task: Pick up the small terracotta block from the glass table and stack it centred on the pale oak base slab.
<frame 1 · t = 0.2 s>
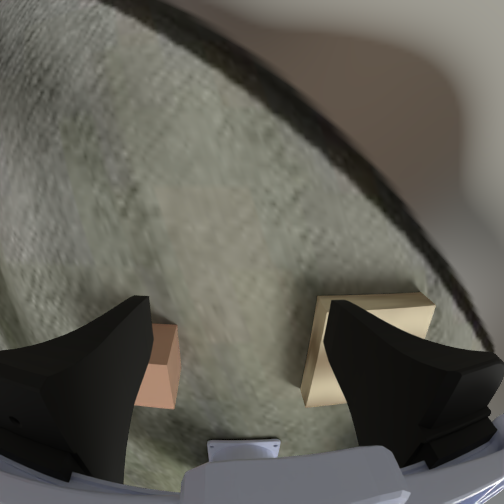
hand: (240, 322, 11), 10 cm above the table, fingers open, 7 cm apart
base: (361, 344, 25), on the table
block: (152, 345, 23), on the table
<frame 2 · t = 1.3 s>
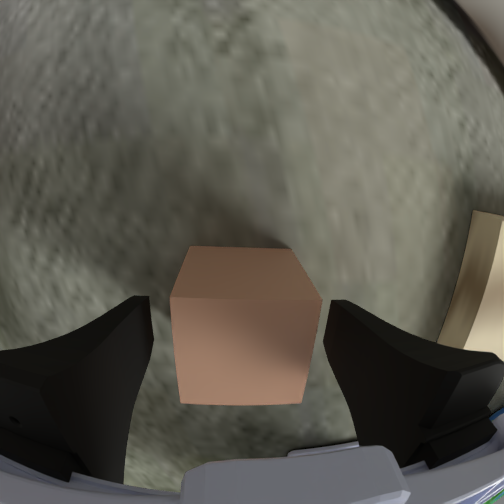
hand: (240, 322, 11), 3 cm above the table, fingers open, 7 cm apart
base: (498, 287, 15), on the table
block: (238, 292, 14), on the table
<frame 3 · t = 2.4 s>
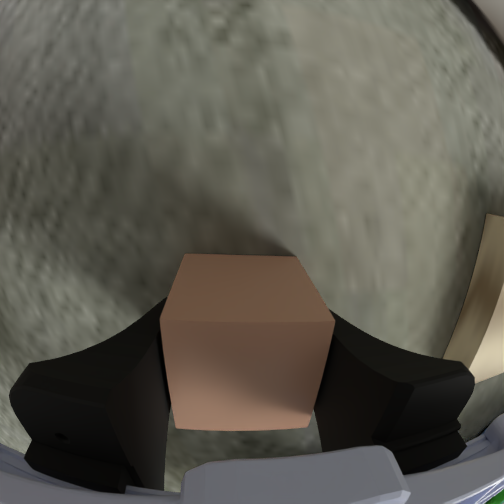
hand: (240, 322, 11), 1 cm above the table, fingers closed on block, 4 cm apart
block: (239, 304, 13), on the table, touching gripper
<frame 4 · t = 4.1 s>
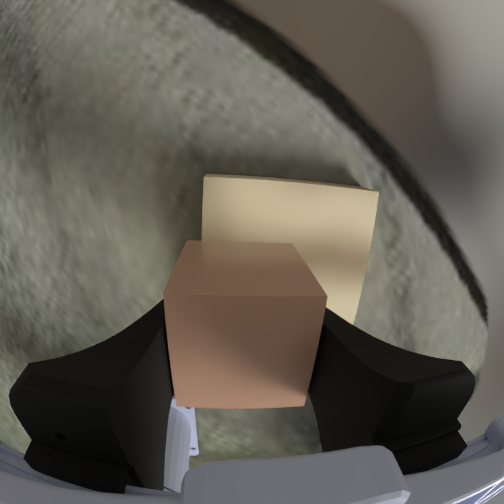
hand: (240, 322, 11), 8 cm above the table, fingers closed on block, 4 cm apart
base: (281, 255, 20), on the table
block: (237, 290, 13), point 6 cm above the table, touching gripper
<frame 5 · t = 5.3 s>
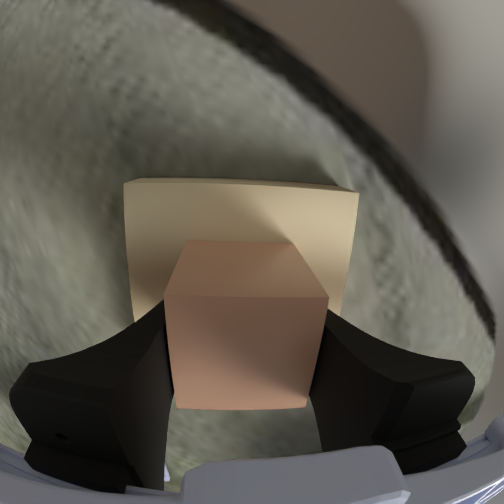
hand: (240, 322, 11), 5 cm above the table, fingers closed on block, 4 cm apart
base: (236, 275, 16), on the table
block: (238, 290, 13), point 2 cm above the table, touching base, gripper
when the fingers open (5 cm above the table, at t = 5.9 s): block stays where it is, resting on base.
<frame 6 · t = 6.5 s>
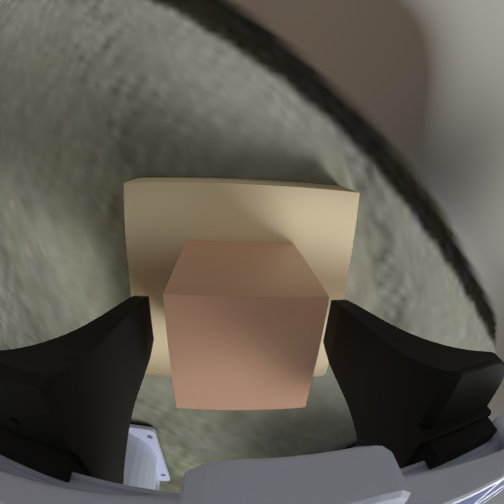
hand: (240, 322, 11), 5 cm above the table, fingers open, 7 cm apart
base: (236, 275, 16), on the table
block: (238, 290, 13), point 2 cm above the table, touching base
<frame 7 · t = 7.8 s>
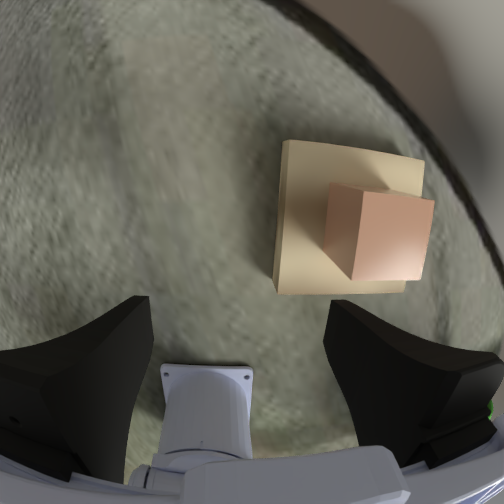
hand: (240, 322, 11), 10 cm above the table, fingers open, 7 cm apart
base: (344, 217, 21), on the table
block: (358, 219, 19), point 2 cm above the table, touching base
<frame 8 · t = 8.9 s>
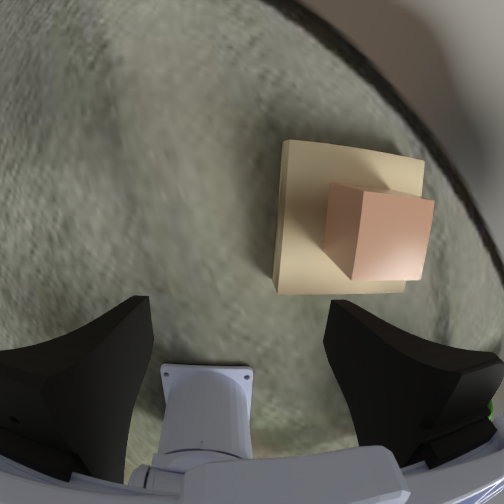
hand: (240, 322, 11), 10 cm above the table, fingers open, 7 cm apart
base: (344, 217, 21), on the table
block: (358, 219, 19), point 2 cm above the table, touching base
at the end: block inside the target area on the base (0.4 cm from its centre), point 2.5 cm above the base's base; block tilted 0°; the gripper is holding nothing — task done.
